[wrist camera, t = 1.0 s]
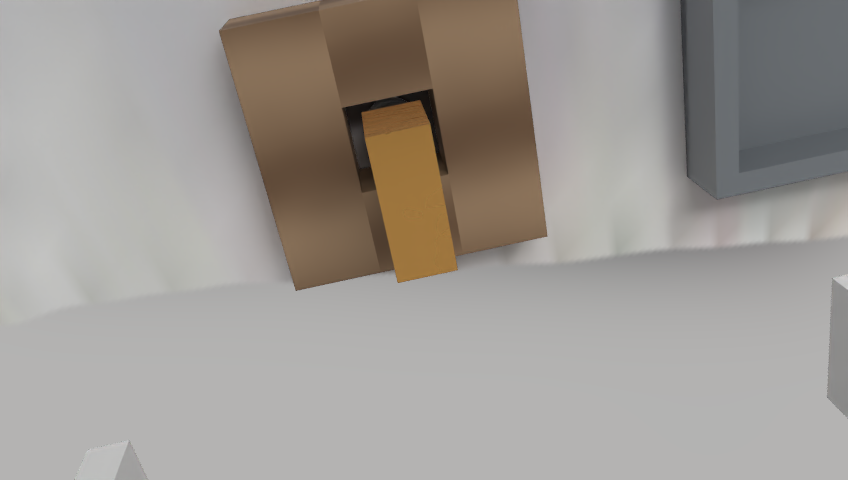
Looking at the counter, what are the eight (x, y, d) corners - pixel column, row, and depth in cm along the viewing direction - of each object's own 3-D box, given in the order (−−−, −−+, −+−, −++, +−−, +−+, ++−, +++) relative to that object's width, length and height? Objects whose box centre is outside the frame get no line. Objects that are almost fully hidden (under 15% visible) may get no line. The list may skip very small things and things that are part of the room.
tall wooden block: (353, 70, 31) (361, 138, 22) (405, 59, 32) (433, 123, 22) (378, 180, 34) (394, 283, 25) (426, 170, 34) (460, 269, 25)
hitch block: (229, 19, 30) (218, 31, 27) (497, -37, 30) (513, -31, 28) (298, 260, 35) (295, 290, 32) (530, 210, 35) (547, 236, 32)
